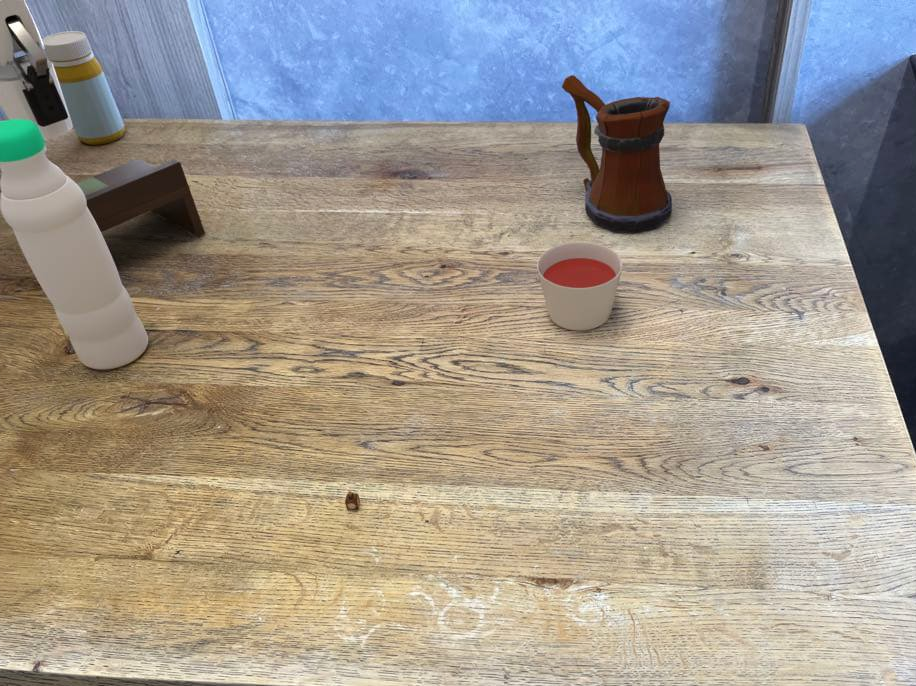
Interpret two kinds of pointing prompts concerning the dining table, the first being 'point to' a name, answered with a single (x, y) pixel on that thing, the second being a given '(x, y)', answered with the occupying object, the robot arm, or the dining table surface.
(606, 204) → the mug
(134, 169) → the shelf
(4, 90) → the shot glass
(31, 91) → the robot arm
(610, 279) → the candle
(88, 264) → the water bottle
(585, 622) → the dining table surface
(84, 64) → the bottle
